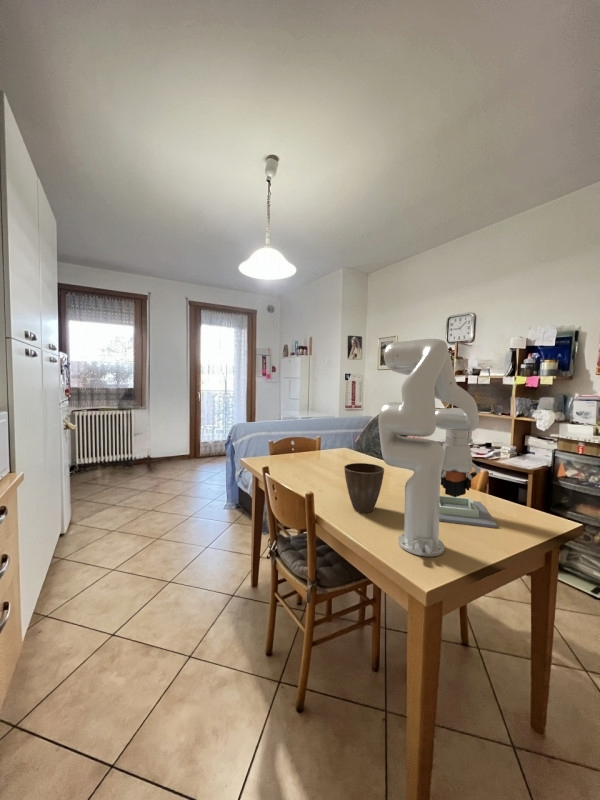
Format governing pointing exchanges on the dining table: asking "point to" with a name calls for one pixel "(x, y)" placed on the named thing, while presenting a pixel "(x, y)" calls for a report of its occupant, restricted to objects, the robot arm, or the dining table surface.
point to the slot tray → (464, 512)
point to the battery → (455, 483)
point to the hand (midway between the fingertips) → (455, 487)
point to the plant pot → (363, 485)
